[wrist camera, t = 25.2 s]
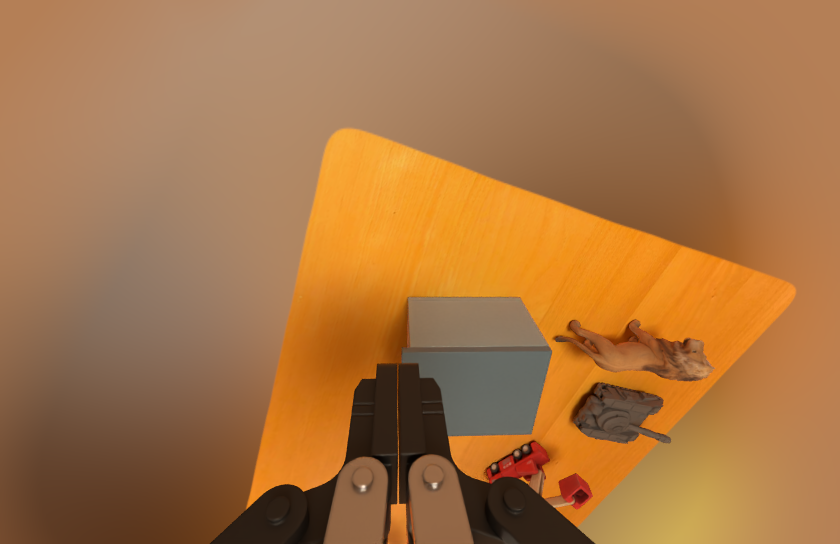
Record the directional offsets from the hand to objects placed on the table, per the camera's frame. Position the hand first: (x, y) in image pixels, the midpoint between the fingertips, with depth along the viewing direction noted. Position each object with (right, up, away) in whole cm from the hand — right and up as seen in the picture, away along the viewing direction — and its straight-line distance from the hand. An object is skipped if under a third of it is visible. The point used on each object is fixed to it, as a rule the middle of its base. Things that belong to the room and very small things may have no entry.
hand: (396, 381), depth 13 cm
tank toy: (+30, -16, +39) cm, 52 cm away
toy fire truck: (+17, -25, +43) cm, 53 cm away
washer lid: (+6, -8, +24) cm, 26 cm away
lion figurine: (+26, -3, +33) cm, 42 cm away
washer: (+6, -4, +32) cm, 33 cm away
